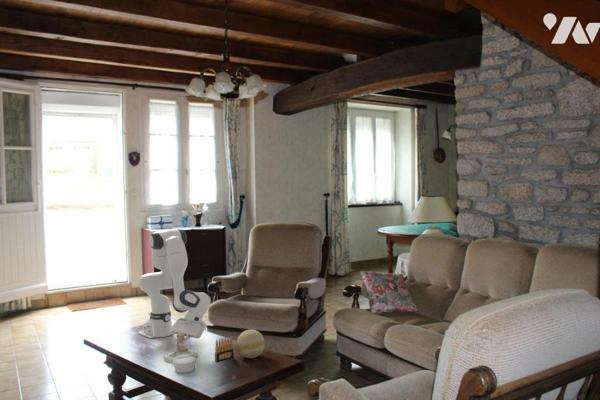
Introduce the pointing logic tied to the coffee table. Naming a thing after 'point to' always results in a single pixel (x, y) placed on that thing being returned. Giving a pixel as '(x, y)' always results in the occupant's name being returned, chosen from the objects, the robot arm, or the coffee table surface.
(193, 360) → the ramekin
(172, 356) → the tray
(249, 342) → the decorative ball
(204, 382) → the coffee table surface
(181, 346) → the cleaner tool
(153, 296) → the robot arm
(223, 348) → the ammunition clip
